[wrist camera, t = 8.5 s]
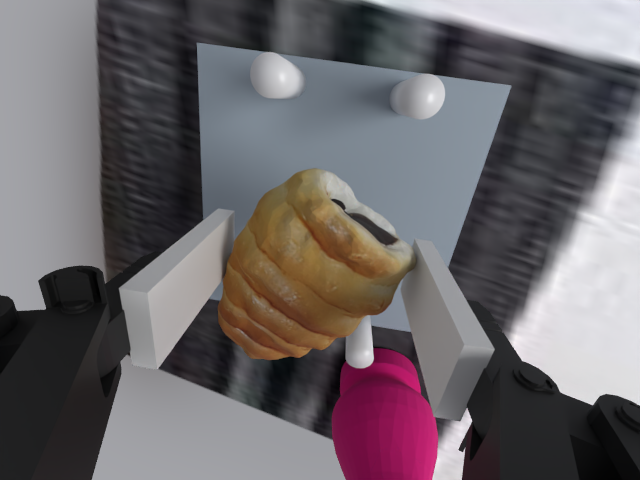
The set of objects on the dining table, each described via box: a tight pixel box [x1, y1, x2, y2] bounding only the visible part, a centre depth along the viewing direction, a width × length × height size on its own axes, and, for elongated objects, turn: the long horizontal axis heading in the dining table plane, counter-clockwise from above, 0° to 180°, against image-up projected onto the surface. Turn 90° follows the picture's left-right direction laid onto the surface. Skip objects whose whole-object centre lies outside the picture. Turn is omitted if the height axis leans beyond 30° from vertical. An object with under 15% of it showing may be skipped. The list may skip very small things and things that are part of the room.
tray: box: [197, 43, 511, 368], centre depth 17 cm, size 16×16×6 cm
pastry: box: [218, 168, 416, 360], centre depth 13 cm, size 9×7×4 cm
